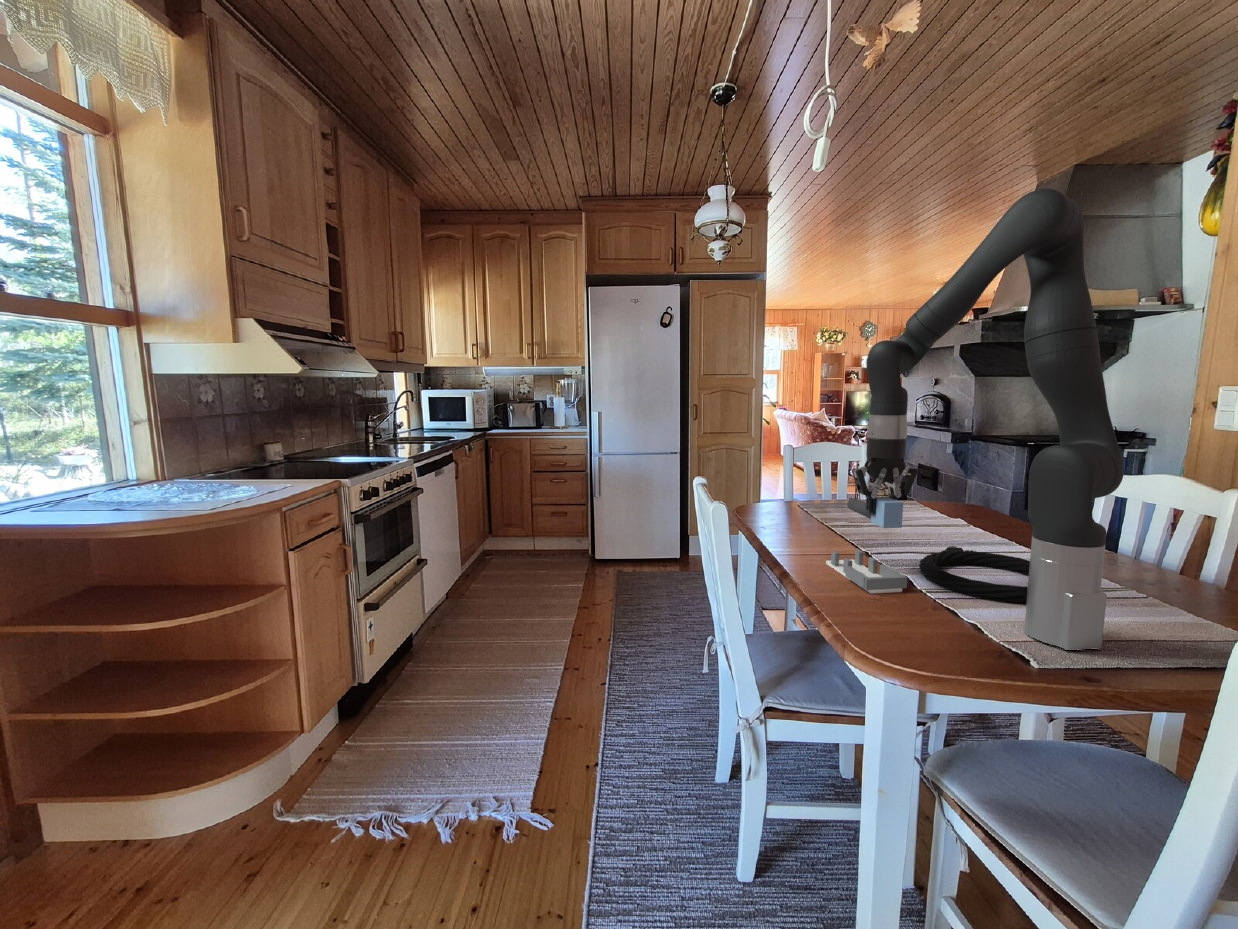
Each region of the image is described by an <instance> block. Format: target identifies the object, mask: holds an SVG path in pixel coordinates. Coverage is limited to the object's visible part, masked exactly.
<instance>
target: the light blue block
mask: <svg viewBox="0 0 1238 929" xmlns="http://www.w3.org/2000/svg"><path fill="white" fill-rule="evenodd" d="M876 498H877V502H876V514H875V515H871V514H869V513H868V511H866V501H863V500H861V499H858V498H855V497H851V498H850V499H848V501H847V504H846V505H847V507H848V509H849V510H850V511H852V512H855V513H857V514H860V515H862V516H864V517H865V518H869V519H870V523H871V524H873V525H875V526H877V527H880V528H882V529H899V528H900V529H901V528H902V527H903V512H904V502H903V501H900V500H899V501H898V500H895V499H892V498H888V497H876Z"/></svg>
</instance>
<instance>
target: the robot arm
mask: <svg viewBox="0 0 1238 929" xmlns="http://www.w3.org/2000/svg"><path fill="white" fill-rule="evenodd" d="M1084 251H1085V250H1084V214H1083V211H1082V208H1081V207H1080V206H1079V204H1078V203H1077V202H1076V201H1075V200H1073V199H1072V198H1070V197H1069V196H1067V195H1066V194H1064V193H1063V192H1061V191H1059V190H1057V189H1054V188H1051V187H1050V188H1049V187H1048V188H1045V187H1044V188H1039V189H1038V188H1037V189H1035V190H1032V191H1029V192H1028V193H1026V194H1024V195H1022V196H1021V197H1020V198H1018V199H1017V200H1016V201H1015V202H1014V203H1013V204H1012V205H1011V206H1010V207H1009V208H1008V209H1007V210H1006V212H1005V213H1004V214H1003V215H1002V216H1001V218H1000V219H999V220H998V221H997V222H996V224H995V225H994V226H993V228H992V229H991V230H990V232H989V233H988V234H987V235H986V236H985V238H984V239H983V240H982V241H981V242H980V244H979V245H978V246H977V247H976V248H975V249H974V251H973V252H972V253H971V254H970V256H968V257H967V259H966V260H965V261H964V262H963V264H961V266H960V267H959V269H957V271H956V272H955V273H954V274H952V275H951V277H950V278H949V279H948V280H947V281H946V282H945V283H944V284H943V285H942V286H941V287H940V289H938V290H937V291H936V292H935V293H934V294H933V295H932V296H931V297H930V298H929V299H928V300H926V302H924V304H922V305H921V306H920V307H919V308H918V309H917V310H916V311H915V312H913V314H912V315H911V316H910V317H909V318H908V319H907V321H906V323H905V331H904V332H903V333H902V334H901V335H900V336H899V337H898V338H897V339H896V340H889V339H888V340H880V341H878V342H876V343H875V344H874V345H873V346H872V347H871V348H870V349H869V352H868V354H867V358H866V375H867V381H868V386H869V387H868V388H869V390H870V395H871V397H870V407H869V409H870V410H869V419H868V423H867V431H866V434H867V437H866V452H865V453H866V455H865V456H866V462H865V463H864V464H863V465H864V466H861V467H858V468H856V467H853V468H852V469H851V473H852V477H853V480H854V483H855V487H856V491H857V493H858V494H860V495H862V496H865V498H866V499H865V502H866V511H868V513H869V514H871V515H875V514H876V502H877V498H878V497H877V496H878V493H879V491H880V489H881V488H882V484H884V483H886V486H887V488H888V491H889V492H888V493H889V495H888V496H887V498H892V499H895V500H898V501H900V498H901V497H903V496H905V495H906V496H907V495H909V494H910V492H911V489H912V487H913V484H914V482H915V479H916V477H917V475H918V472H919V471H918V469H917V468H915V467H911V466H907V465H906V463H905V458H906V453H907V452H906V451H907V438H908V437H907V436H908V417H907V416H908V405H909V404H908V403H909V399H908V398H909V396H908V393H909V392H908V390H907V389H906V388H905V387H903V386H902V380H901V375H903V374H906V373H908V372H909V371H910V370H912V369H913V368H915V367H916V365H918V364H919V363H920V362H921V361H922V359H923V358H924V357H925V356H926V354H928V352H929V351H930V350H931V349H932V347H933V346H934V345H935V344H936V342H937V341H939V340H940V339H942V337H944V336H945V335H946V334H947V333H948V332H949V331H951V329H953V328H954V327H955V326H956V325H958V323H960V322H961V321H962V320H963V319H964V318H965V316H966V315H968V314H969V313H970V311H971V310H972V308H973V307H974V306H975V305H976V304H977V302H978V301H979V299H980V297H982V295H983V294H984V292H985V290H986V289H987V288H988V287H989V285H990V284H991V283H992V282H993V281H994V280H995V278H996V277H998V275H999V274H1001V273H1002V272H1003V270H1005V269H1006V268H1007V267H1008V266H1009V265H1010V264H1012V263H1013V262H1014V261H1016V260H1017V259H1019V258H1020V257H1022V256H1023V259H1024V261H1025V265H1026V270H1027V273H1028V277H1029V283H1030V285H1029V286H1030V294H1029V295H1030V296H1029V303H1028V306H1027V310H1026V316H1025V321H1024V328H1023V330H1024V331H1023V336H1024V337H1023V342H1024V348H1025V356H1026V361H1027V362H1026V363H1027V368H1028V372H1029V374H1030V377H1031V379H1032V380H1033V383H1035V386H1036V387H1037V388H1038V390H1039V391H1040V393H1041V395H1042V396H1043V397H1044V399H1045V400H1046V402H1047V404H1048V405H1049V407H1050V408H1051V410H1052V412H1053V414H1054V416H1055V420H1056V422H1057V423H1056V424H1057V427H1058V428H1057V429H1058V435H1059V444H1055V445H1052V446H1047V447H1045V448H1043V449H1042V450H1040V451H1039V452H1038V453H1037V454H1036V455H1035V457H1034V458H1033V460H1032V462H1031V465H1030V468H1029V473H1028V484H1027V485H1028V487H1027V488H1028V489H1027V491H1028V492H1027V516H1028V520H1029V522H1030V524H1031V528H1032V533H1031V543H1030V544H1031V545H1030V555H1029V561H1030V566H1029V576H1028V578H1027V580H1028V581H1027V586H1028V590H1027V602H1026V604H1025V617H1024V618H1025V619H1024V627H1023V631H1024V630H1025V631H1024V633H1025V634H1026V633H1027V634H1028V635H1029V636H1030V637H1029V636H1028V635H1027V634H1026V635H1027V636H1028V637H1029V638H1031V637H1033V638H1035V639H1037V640H1040V641H1042V642H1045V643H1050V644H1053V645H1056V646H1059V647H1062V648H1064V649H1065V650H1077V649H1091V648H1101V649H1102V645H1103V637H1104V636H1103V635H1104V626H1105V615H1106V609H1107V608H1106V607H1107V599H1108V596H1107V592H1104V591H1102V590H1101V588H1102V582H1103V570H1104V561H1105V552H1106V541H1107V529H1106V528H1105V526H1103V525H1102V524H1100V523H1098V522H1096V521H1095V519H1094V516H1093V502H1094V501H1093V500H1094V499H1098V498H1103V497H1106V496H1109V495H1111V494H1112V493H1113V492H1116V490H1117V489H1118V488H1119V487H1120V485H1121V483H1122V481H1123V478H1124V476H1125V475H1124V473H1125V470H1124V469H1125V468H1124V467H1125V466H1124V461H1123V456H1122V452H1121V449H1120V447H1119V443H1118V440H1117V436H1116V432H1115V429H1114V426H1113V422H1112V418H1111V416H1110V411H1109V407H1108V401H1107V393H1106V387H1105V386H1106V385H1105V380H1104V374H1103V369H1102V362H1101V351H1100V350H1101V349H1100V342H1099V335H1098V329H1097V324H1096V319H1095V314H1094V310H1093V309H1094V308H1093V303H1092V300H1091V295H1090V291H1089V286H1088V283H1087V278H1086V274H1085V266H1084V265H1085V264H1084V262H1085V261H1084V256H1085V255H1084ZM867 474H868V480H867V482H866V479H865V477H866V476H867ZM901 475H902V478H901V480H900V476H901ZM1033 638H1032V639H1033ZM1035 639H1034V640H1035ZM1037 640H1036V641H1037ZM1042 642H1041V643H1042ZM1065 650H1064V651H1065Z"/></svg>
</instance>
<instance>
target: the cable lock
mask: <svg viewBox="0 0 1238 929" xmlns="http://www.w3.org/2000/svg"><path fill="white" fill-rule="evenodd" d="M973 565H974V567H985V566H986V567H987V568H991V567H992V569H997V568H999V569H998V570H1005V571H1009V570H1011V571H1010V572H1012V571H1013V572H1012V573H1016V572H1018V573H1017V574H1020V573H1021V574H1020V575H1024V576H1028V575H1029V566H1030V560H1028V559H1024V558H1022V557H1017V556H1010V555H1006V554H998V553H993V552H985V551H976V550H969V549H966V550H964V549H963V548H962V547H957V546H955V545H950V546H947V547H946V548H945V549H943V550H941V552H940V551H939V552H932V553H931V554H927V555H925V557H923V559H920V561H919V564H918V566H919V572H920V574H921V575H923V577H924V578H925V579H926V580H928V581H929V582H931V583H933V582H934V583H935V584H934V583H933V584H934V585H937V586H938V585H939V586H938V587H940V586H941V588H943V587H944V589H948V590H950V591H952V592H954V591H955V592H954V593H957V592H958V593H957V594H960V593H961V595H965V596H970V597H975V598H978V597H979V599H982V600H987V599H988V601H992V600H994V602H1003V601H1004V602H1005V603H1010V602H1016V603H1015V604H1020V603H1023V605H1026V602H1027V590H1028V585H1027V586H1022V585H1014V584H1013V585H1011V584H999V583H998V584H997V583H992V582H987V581H983V580H975V579H970V578H968V577H964V576H959V575H956V574H953V573H950V572H947V571H945V570H943V569H942V568H943V567H947V566H973Z"/></svg>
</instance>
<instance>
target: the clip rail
mask: <svg viewBox="0 0 1238 929" xmlns="http://www.w3.org/2000/svg"><path fill="white" fill-rule="evenodd" d="M825 564H826V565H827V566H829V568H832V569H833V568H834V570H835V571H837V573H840V574H841V575H842V576H844V577H845V578H847V579H848V580H849V581H851V582H853V583H854V584H856V585H857V586H859V587H860V588H862V589H863V590H864V591H866V592H868V593H869V594H871V595H872V594H888V593H902V592H903V589H908V588H907V587H908V577H907V576H906V575H904V574H902V573H900V572H898V571H897V570H895V569H893V568H891V567H889V566H888V565H886V564H879V573H878V559H877V558H875V557H873V556H872V557H868V565H867V566H865V565H864V551H862V550H860V549H854V559H853V558H852V559H849V558H848V557H847V558H843V559H840V552H838V551H837V550H831V552H830V560H826V561H825Z"/></svg>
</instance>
